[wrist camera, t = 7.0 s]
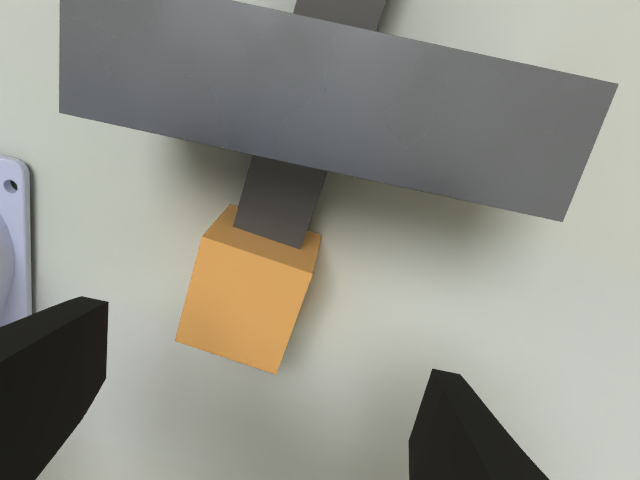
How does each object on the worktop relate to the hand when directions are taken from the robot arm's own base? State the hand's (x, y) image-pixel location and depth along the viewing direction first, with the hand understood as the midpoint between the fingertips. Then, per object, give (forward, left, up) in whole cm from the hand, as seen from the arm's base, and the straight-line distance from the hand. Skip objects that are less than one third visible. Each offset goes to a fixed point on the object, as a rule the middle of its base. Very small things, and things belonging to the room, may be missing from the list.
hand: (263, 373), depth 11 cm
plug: (+3, +1, -8) cm, 9 cm away
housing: (+6, 0, -8) cm, 10 cm away
